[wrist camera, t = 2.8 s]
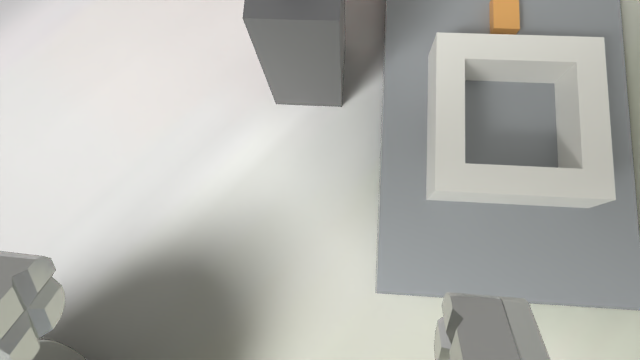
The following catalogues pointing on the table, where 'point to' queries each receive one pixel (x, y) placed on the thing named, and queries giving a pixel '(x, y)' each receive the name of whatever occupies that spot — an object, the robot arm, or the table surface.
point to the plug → (299, 48)
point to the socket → (507, 153)
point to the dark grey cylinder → (56, 351)
